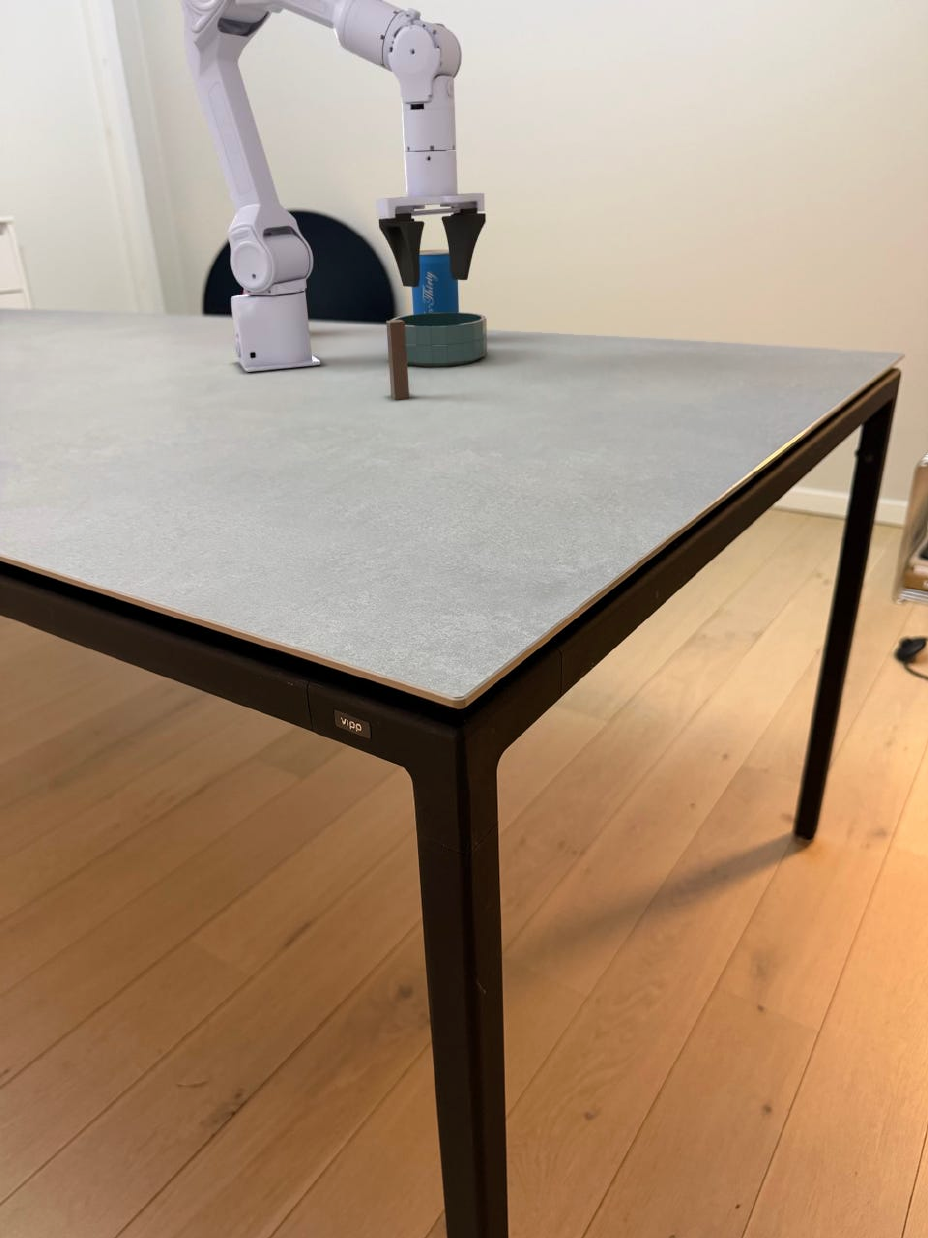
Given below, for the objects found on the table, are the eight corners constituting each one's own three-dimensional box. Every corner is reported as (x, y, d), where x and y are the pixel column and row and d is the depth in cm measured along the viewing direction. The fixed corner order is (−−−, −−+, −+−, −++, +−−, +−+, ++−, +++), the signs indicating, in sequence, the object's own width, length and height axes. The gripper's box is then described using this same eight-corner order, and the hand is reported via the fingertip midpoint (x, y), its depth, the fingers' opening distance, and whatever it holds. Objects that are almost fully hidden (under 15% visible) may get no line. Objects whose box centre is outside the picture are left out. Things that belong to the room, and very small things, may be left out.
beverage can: (409, 344, 129) (403, 253, 124) (421, 337, 135) (417, 249, 130) (453, 345, 128) (450, 252, 123) (464, 337, 134) (461, 248, 128)
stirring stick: (395, 399, 99) (390, 322, 95) (391, 396, 100) (386, 320, 97) (409, 398, 99) (404, 321, 96) (405, 395, 101) (400, 319, 97)
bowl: (408, 371, 112) (406, 329, 110) (382, 355, 123) (379, 316, 120) (501, 362, 116) (500, 321, 114) (467, 347, 126) (466, 309, 124)
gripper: (403, 151, 94) (410, 291, 100) (502, 149, 102) (504, 278, 108) (360, 153, 98) (370, 287, 104) (459, 151, 107) (463, 275, 113)
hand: (435, 282), depth 107 cm, fingers open, 7 cm apart
